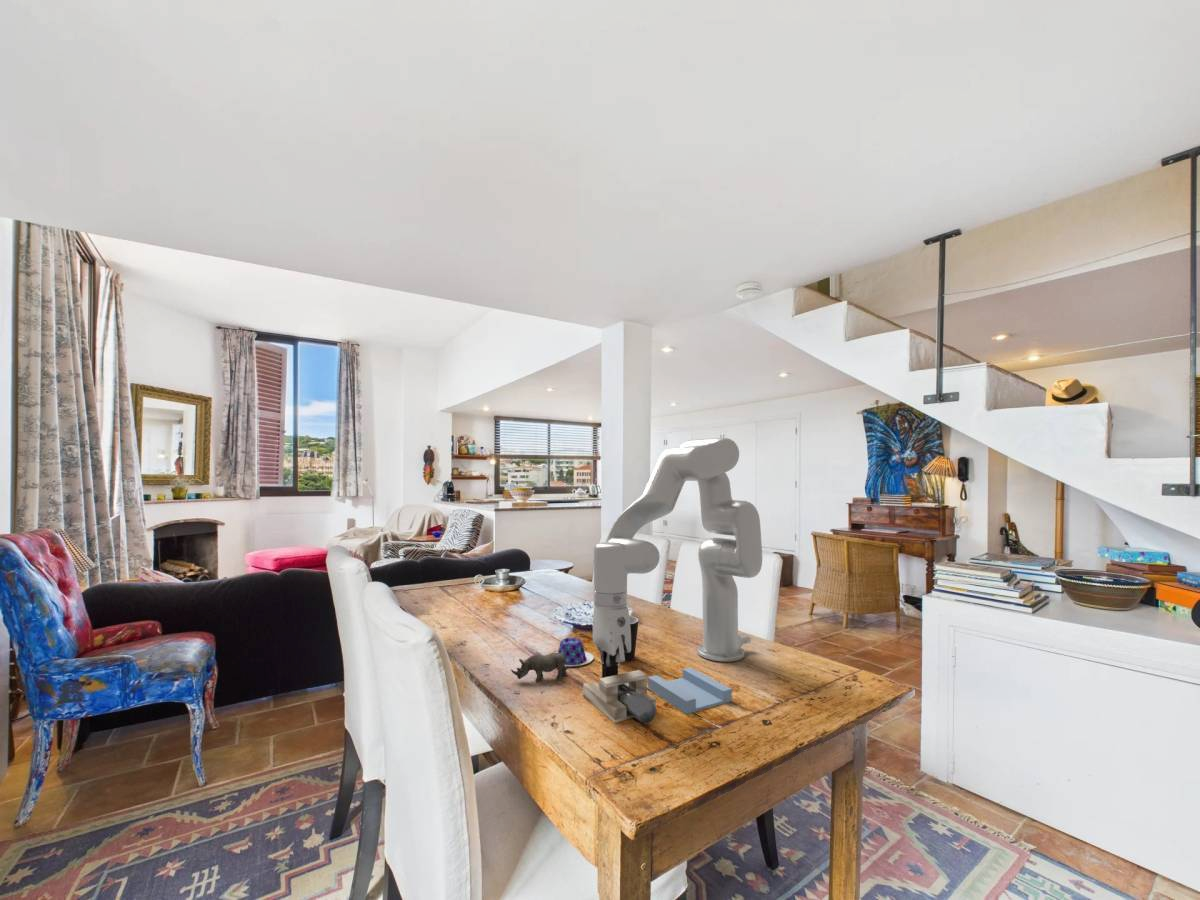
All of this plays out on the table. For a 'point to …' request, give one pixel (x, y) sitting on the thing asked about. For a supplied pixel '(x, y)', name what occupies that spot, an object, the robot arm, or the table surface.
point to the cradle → (691, 691)
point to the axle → (636, 704)
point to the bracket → (616, 693)
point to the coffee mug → (632, 638)
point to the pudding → (574, 652)
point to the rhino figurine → (542, 665)
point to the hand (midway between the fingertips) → (610, 682)
